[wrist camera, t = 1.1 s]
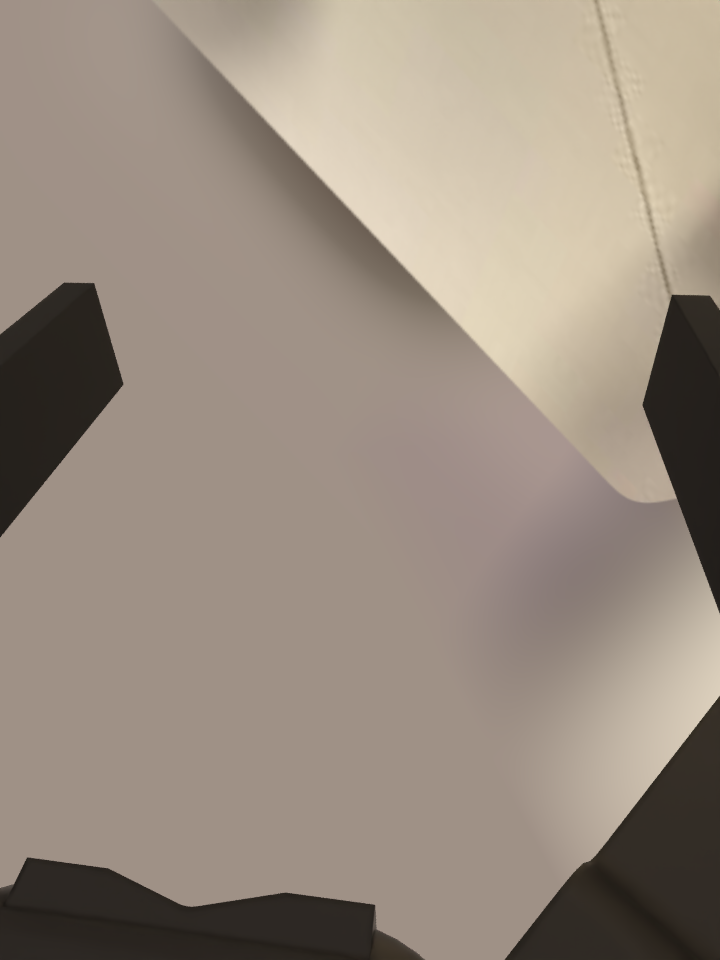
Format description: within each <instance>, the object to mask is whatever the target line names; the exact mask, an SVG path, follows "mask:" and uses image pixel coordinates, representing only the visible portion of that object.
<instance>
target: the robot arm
mask: <svg viewBox="0 0 720 960" xmlns="http://www.w3.org/2000/svg"><path fill="white" fill-rule="evenodd" d="M122 385H123V381H122V378H121V374H120V371H119V367H118V364H117V360H116V357H115V353H114V350H113V347H112V343H111V340H110V336H109V333H108V329H107V326H106V322H105V319H104V316H103V313H102V309H101V305H100V302H99V298H98V295H97V291H96V288H95V285H94V283H63V284H62V285H61V286H59V287H58V288H57V289H56V290H55V291H53V292H52V293H51V294H50V295H48V296H47V297H46V298H45V299H43V300H42V301H41V302H40V303H38V304H37V305H36V306H35V307H34V308H32V309H31V310H30V311H29V312H27V313H26V314H25V315H24V316H23V317H21V318H20V319H19V320H18V321H16V322H15V323H14V324H13V325H11V326H10V327H9V328H8V329H6V330H5V331H4V332H3V333H2V334H0V537H1V536H2V534H3V533H4V532H5V531H6V529H7V528H8V527H9V526H10V524H11V523H12V522H13V521H14V520H15V518H16V517H17V516H18V515H19V513H20V512H21V511H22V510H23V508H24V507H25V506H26V505H27V503H28V502H29V501H30V500H31V498H32V497H33V496H34V495H35V493H36V492H37V491H38V490H39V489H40V487H41V486H42V485H43V484H44V482H45V481H46V480H47V479H48V477H49V476H50V475H51V474H52V472H53V471H54V470H55V469H56V467H57V466H58V465H59V464H60V463H61V461H62V460H63V459H64V458H65V456H66V455H67V454H68V453H69V451H70V450H71V449H72V448H73V446H74V445H75V444H76V443H77V441H78V440H79V439H80V438H81V436H82V435H83V434H84V433H85V431H86V430H87V429H88V428H89V426H90V425H91V424H92V423H93V422H94V420H95V419H96V418H97V417H98V415H99V414H100V413H101V412H102V410H103V409H104V408H105V407H106V405H107V404H108V403H109V402H110V401H111V399H112V398H113V397H114V395H115V394H116V393H117V392H118V391H119V389H120V388H121V387H122ZM643 408H644V411H645V413H646V416H647V419H648V421H649V424H650V427H651V429H652V432H653V435H654V438H655V440H656V443H657V446H658V448H659V451H660V454H661V456H662V459H663V462H664V464H665V467H666V470H667V473H668V475H669V478H670V481H671V483H672V486H673V489H674V491H675V494H676V497H677V499H678V502H679V505H680V507H681V510H682V513H683V516H684V518H685V521H686V524H687V526H688V528H689V532H690V534H691V537H692V540H693V542H694V545H695V548H696V551H697V553H698V556H699V559H700V561H701V564H702V567H703V569H704V572H705V575H706V577H707V580H708V583H709V586H710V588H711V591H712V594H713V596H714V599H715V602H716V604H717V607H718V610H719V613H720V310H719V308H718V307H717V305H716V304H715V302H714V301H713V300H712V298H711V297H710V296H701V295H672V297H671V301H670V304H669V308H668V312H667V316H666V319H665V323H664V327H663V330H662V334H661V338H660V342H659V345H658V349H657V353H656V357H655V360H654V364H653V368H652V371H651V375H650V379H649V383H648V386H647V390H646V394H645V398H644V401H643ZM0 960H424V959H423V958H422V957H421V956H420V955H419V954H418V953H416V952H415V951H413V950H412V949H410V948H409V947H407V946H406V945H404V944H403V943H401V942H400V941H398V940H397V939H395V938H393V937H391V936H389V935H386V934H385V933H383V932H381V931H378V930H377V929H376V912H375V905H372V904H365V903H357V902H350V901H343V900H336V899H328V898H321V897H314V896H306V895H299V894H292V893H280V894H275V895H268V896H261V897H255V898H248V899H242V900H235V901H230V902H223V903H216V904H210V905H203V906H196V907H188V906H183V905H180V904H178V903H176V902H174V901H172V900H170V899H168V898H166V897H164V896H162V895H160V894H158V893H156V892H154V891H152V890H150V889H148V888H146V887H144V886H142V885H140V884H138V883H136V882H134V881H132V880H130V879H128V878H126V877H124V876H122V875H120V874H118V873H116V872H114V871H112V870H110V869H108V868H100V867H93V866H86V865H79V864H71V863H64V862H57V861H49V860H42V859H34V858H27V859H26V861H25V863H24V865H23V867H22V869H21V871H20V873H19V875H18V877H17V879H16V882H15V884H14V885H9V886H6V887H2V888H0ZM505 960H720V696H719V698H718V699H717V700H716V702H715V703H714V704H713V705H712V707H711V708H710V709H709V711H708V712H707V713H706V714H705V716H704V717H703V718H702V720H701V721H700V722H699V723H698V725H697V726H696V727H695V729H694V730H693V731H692V732H691V734H690V735H689V737H688V738H687V739H686V741H685V742H684V743H683V744H682V745H681V747H680V748H679V749H678V751H677V752H676V753H675V755H674V756H673V757H672V758H671V760H670V761H669V762H668V764H667V765H666V766H665V767H664V769H663V770H662V771H661V773H660V774H659V775H658V776H657V778H656V779H655V780H654V782H653V783H652V784H651V785H650V787H649V788H648V789H647V791H646V792H645V793H644V795H643V796H642V797H641V798H640V800H639V801H638V802H637V804H636V805H635V806H634V807H633V809H632V810H631V811H630V813H629V814H628V815H627V817H626V818H625V819H624V820H623V822H622V823H621V824H620V826H619V827H618V828H617V829H616V831H615V832H614V833H613V835H612V836H611V837H610V838H609V840H608V841H607V842H606V844H605V845H604V846H603V848H602V849H601V850H600V851H599V852H598V854H597V855H596V856H595V857H594V858H593V859H592V860H591V861H589V862H586V863H583V864H582V865H581V866H580V867H579V868H578V869H577V870H576V871H575V872H574V873H573V874H572V875H571V877H570V878H569V879H568V880H567V882H566V883H565V884H564V885H563V886H562V887H561V889H560V890H559V891H558V892H557V894H556V895H555V896H554V898H553V899H552V900H551V901H550V903H549V904H548V905H547V906H546V908H545V909H544V910H543V912H542V913H541V914H540V915H539V917H538V918H537V919H536V920H535V922H534V923H533V924H532V926H531V927H530V928H529V929H528V931H527V932H526V933H525V934H524V936H523V937H522V939H521V940H520V941H519V942H518V943H517V945H516V946H515V947H514V948H513V950H512V951H511V952H510V954H509V955H508V956H507V958H506V959H505Z"/></svg>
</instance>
